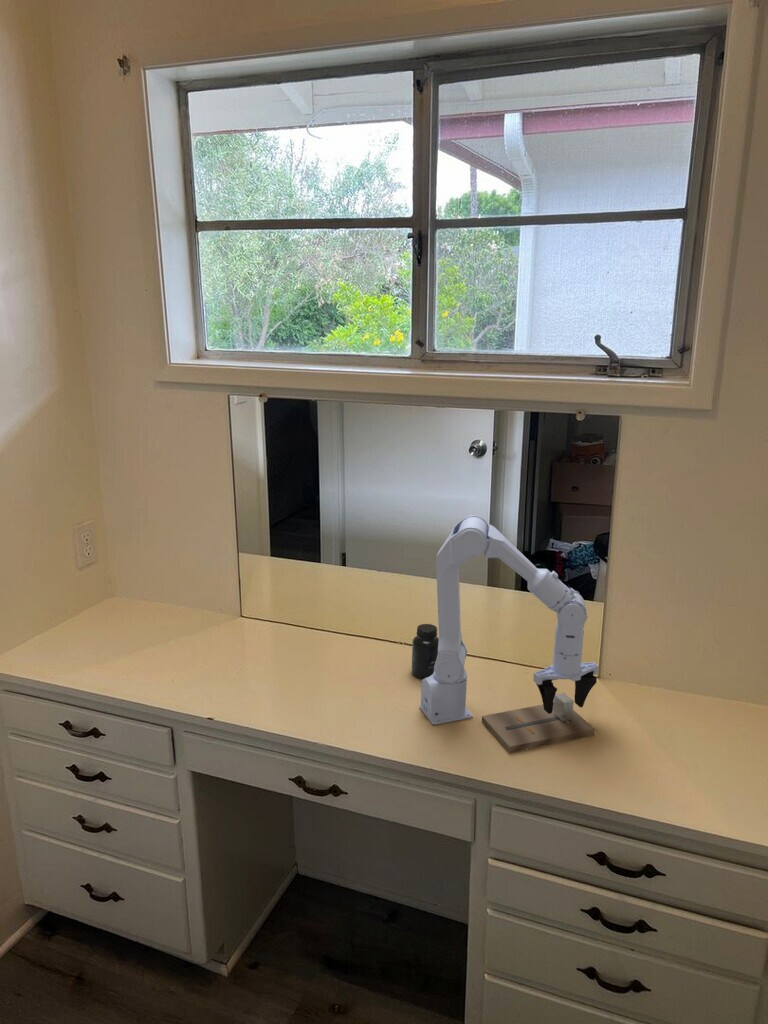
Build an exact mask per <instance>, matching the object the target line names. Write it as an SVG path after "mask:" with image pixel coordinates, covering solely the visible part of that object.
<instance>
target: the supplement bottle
mask: <svg viewBox="0 0 768 1024" xmlns="http://www.w3.org/2000/svg"><path fill="white" fill-rule="evenodd" d="M411 643H412V644H411V645H412V646H411V673H412V675H413V676H414V677H416V678H417V679H420V680H423V679H424V678H427V677H430V676H431V675H432V674H433V673H434V665H435V663H436V660H437V655H438V643H439V636H438V627H437V626H436V625H434V624H431V623H422V624H420V625H419V624H418V625H417V627H416V635H415V636H414V637H413V639H412V642H411Z"/></svg>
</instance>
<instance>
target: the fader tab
mask: <svg viewBox="0 0 768 1024" xmlns="http://www.w3.org/2000/svg"><path fill="white" fill-rule="evenodd" d="M553 702H554V706H553V713H554V714H555V715H556V716H557V717H558V718H559V719H560V720H561V721H562V722H563V721H568V720H572V714H573V710H574V703H575V700H574V699H572V698H571V697H570V696H568V694H566V693H565V692H562V693H556V694H555V697H554V701H553Z"/></svg>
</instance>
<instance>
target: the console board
mask: <svg viewBox="0 0 768 1024" xmlns="http://www.w3.org/2000/svg"><path fill="white" fill-rule="evenodd" d="M553 706H554V701H553ZM481 723H482V725H484V727H486V729H487V730H488V732H490V734H491V735H492V736H493V737H494V738H495V739H496V740H497V741H498V742H499V744H500V745H501V746H502V747H503V748H504V749H505V750H506V751H507V753H508V754H513V753H517V752H518V753H519V752H522V750H523V751H526V750H527V749H528V750H530V749H537V748H540V747H541V746H542V747H545V745H546V746H550V745H555V744H560V743H565V742H568V741H574V740H579V739H583V738H588V737H593V736H595V731H596V729H595V727H593V726H592V725H591V724H590V723H589V722H588V721H586V719H584V718H583V717H582V716H581V715H580V714H579V713H578V712H576V710H574V709H573V714H572V720H568V721H563V722H562V721H561V720H560V719H559V718H558V717H557V716H556V715H555V714H554V713H553V710H552V713H551V714H548V713H547V712H546V711H545V710H544V706H543V703H542V704H538V705H532V706H527V707H524V708H523V707H522V708H518V709H512V710H507V711H501V712H496V713H492V714H491V713H490V714H486V715H482V716H481Z"/></svg>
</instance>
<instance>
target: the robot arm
mask: <svg viewBox="0 0 768 1024" xmlns="http://www.w3.org/2000/svg"><path fill="white" fill-rule="evenodd" d="M482 554H484V555H483V559H484V558H485V559H496V558H497V559H499V560H500V561H502V562H503V563H504V564H506V565H507V566H508V567H509V568H511V570H513V571H514V572H516V573H517V574H518V575H520V577H522V578H523V579H524V580H525V581H526V582H527V590H528V591H529V592H530V593H531V594H533V595H534V597H536V598H537V599H538V600H539V601H540V602H541V603H543V604H544V605H545V606H546V607H547V608H548V609H550V610H551V611H553V612H555V613H556V620H557V621H556V626H555V629H554V630H555V632H554V644H553V656H552V657H553V658H552V664H551V665H549V666H547V667H545V668H543V669H541V670H538V671H535V672H533V678H532V679H533V680H532V681H533V682H534V683H535V684H536V686H537V688H538V690H539V693H540V697H541V701H542V704H543V706H544V710H545V711H546V712H547V713H548V714H551V713H552V710H553V702H554V697H555V694H557V691H558V688H557V687H556V686H555V685H554V683H553V681H558V680H571V681H572V682H574V703H575V704H576V705H577V706H578V707H579V708H583V707H584V705H585V702H586V700H587V697H588V695H589V693H590V692H591V690H592V689H593V687H594V686H595V685H596V684H597V677H596V676H595V675H598V674H599V666H600V665H598V664H597V663H596V662H594V661H589V662H588V661H587V662H586V661H585V662H582V659H583V658H582V657H583V647H584V635H585V631H584V627H585V623H586V622H587V620H588V613H587V607H586V602H585V600H584V598H583V596H582V595H581V594H580V592H579V591H578V590H575V589H573V588H572V587H568V586H567V585H566V584H564V583H563V582H562V580H561V579H559V574H558V573H557V572H556V571H555V570H552V571H551V570H549V569H548V568H537V567H536V565H534V563H532V562H531V560H529V559H528V558H527V557H526V556H525V555H524V554H523V553H522V552H521V551H520V550H519V549H518V548H517V547H516V546H515V545H514V544H513V543H512V542H511V541H510V540H508V539H507V538H506V537H505V536H504V534H502V532H500V531H499V529H497V528H496V527H495V526H494V525H492V524H490V523H489V524H488V521H486V519H485V518H483V517H481V516H479V515H476V514H475V515H474V514H473V515H468V516H466V517H464V518H462V520H460V521H459V522H457V523H455V525H454V526H453V528H452V530H451V532H450V534H449V535H448V536H447V538H446V540H445V541H444V543H443V544H442V545H441V546H440V549H439V550H438V552H437V554H436V558H435V568H436V571H435V572H436V573H435V574H436V595H437V598H436V599H437V619H438V623H437V624H438V638H439V643H438V655H437V660H436V663H435V665H434V673H433V674H432V675H431V676H430V677H427V678H424V679H421V684H420V686H421V687H420V704H419V708H420V710H421V712H423V714H424V715H425V717H426V718H427V719H428V720H429V722H430V724H432V725H434V726H435V725H441V724H446V723H450V722H457V721H461V720H467V719H471V718H473V716H474V715H473V714H472V713H471V711H470V710H469V709H468V708H467V707H466V701H467V681H468V680H467V678H468V673H467V671H466V669H465V662H466V658H467V655H468V650H467V647H466V645H465V643H464V641H463V633H462V627H461V625H462V624H461V623H462V622H461V593H460V566H461V565H462V564H464V563H465V562H467V561H469V560H471V559H474V558H477V557H479V556H481V555H482Z"/></svg>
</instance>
